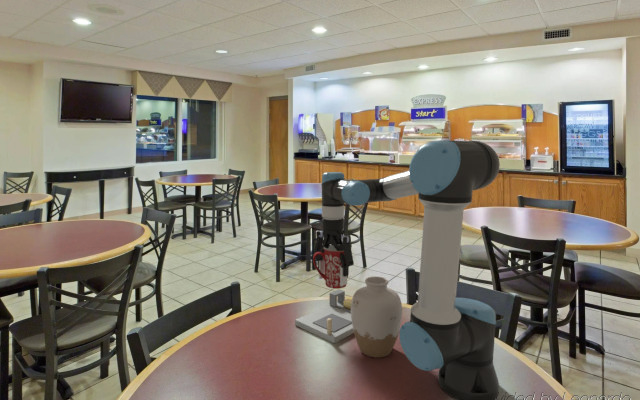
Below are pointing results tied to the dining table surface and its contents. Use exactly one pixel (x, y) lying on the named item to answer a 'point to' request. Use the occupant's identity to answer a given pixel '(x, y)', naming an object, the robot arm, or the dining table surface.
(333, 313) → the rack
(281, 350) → the dining table surface
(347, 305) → the tan rectangular block
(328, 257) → the mug
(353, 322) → the white ceramic vase
